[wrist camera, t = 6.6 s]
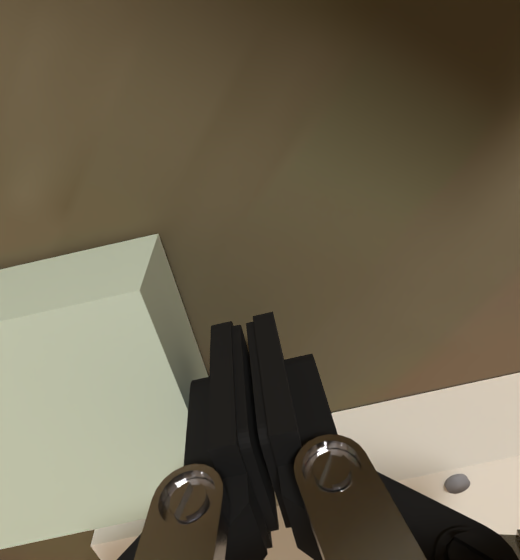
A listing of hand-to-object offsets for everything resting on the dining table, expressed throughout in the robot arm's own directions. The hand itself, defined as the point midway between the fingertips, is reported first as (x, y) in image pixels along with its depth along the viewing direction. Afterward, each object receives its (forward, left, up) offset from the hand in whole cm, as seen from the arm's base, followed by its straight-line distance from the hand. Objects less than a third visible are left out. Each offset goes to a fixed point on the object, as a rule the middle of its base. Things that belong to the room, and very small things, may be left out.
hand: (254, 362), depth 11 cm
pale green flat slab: (+6, 0, -2) cm, 6 cm away
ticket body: (-5, +8, -2) cm, 10 cm away
